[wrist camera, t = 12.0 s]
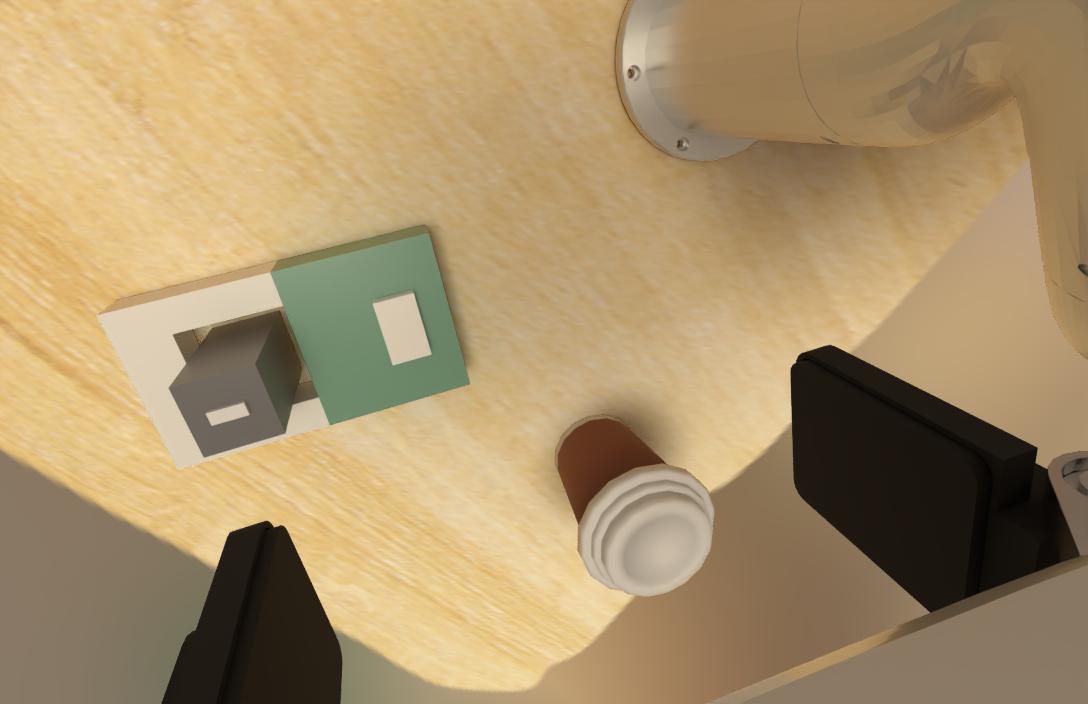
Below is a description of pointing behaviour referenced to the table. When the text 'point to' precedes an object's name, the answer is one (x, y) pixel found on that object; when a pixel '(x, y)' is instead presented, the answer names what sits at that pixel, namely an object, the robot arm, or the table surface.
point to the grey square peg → (239, 384)
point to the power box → (305, 333)
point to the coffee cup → (632, 509)
